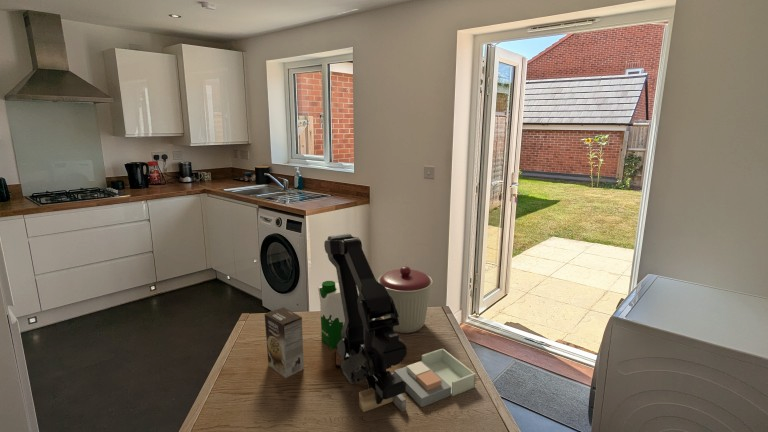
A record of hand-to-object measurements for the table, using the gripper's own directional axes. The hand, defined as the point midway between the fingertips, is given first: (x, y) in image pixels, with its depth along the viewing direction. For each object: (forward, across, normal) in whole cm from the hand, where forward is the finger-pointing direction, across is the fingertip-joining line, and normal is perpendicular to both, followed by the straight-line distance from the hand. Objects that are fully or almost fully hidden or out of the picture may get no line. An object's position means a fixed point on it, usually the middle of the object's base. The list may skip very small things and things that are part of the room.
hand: (376, 400), depth 102 cm
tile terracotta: (-2, +2, +14) cm, 14 cm away
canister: (+1, -30, +27) cm, 40 cm away
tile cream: (-2, -2, +14) cm, 14 cm away
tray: (+1, 0, +22) cm, 22 cm away
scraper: (+1, 0, 0) cm, 1 cm away
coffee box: (+1, -26, -15) cm, 30 cm away
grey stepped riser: (+1, 0, +14) cm, 14 cm away
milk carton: (+1, -32, +3) cm, 32 cm away
